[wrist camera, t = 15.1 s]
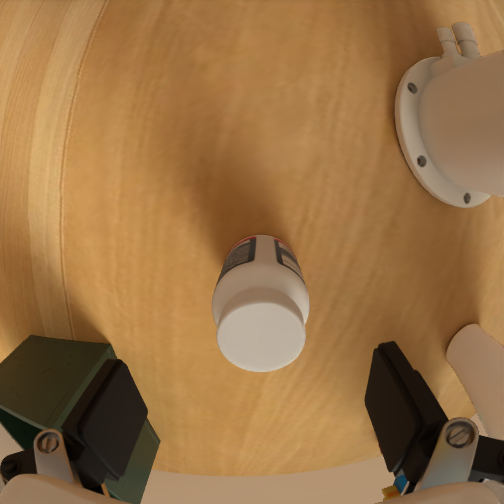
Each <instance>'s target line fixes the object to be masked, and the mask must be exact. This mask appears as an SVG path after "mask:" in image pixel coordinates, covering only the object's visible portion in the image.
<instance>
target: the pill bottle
mask: <svg viewBox="0 0 504 504" xmlns="http://www.w3.org/2000/svg"><path fill="white" fill-rule="evenodd" d="M309 310H310V301H309V295H308V291H307V288H306V285H305V282H304V279H303V276H302V273H301V270H300V267H299V265H298V262H297V259H296V257H295V255H294V253H293V251H292V250H291V248H290V247H289V246H288V245H287V244H286V243H284V242H283V241H281V240H280V239H278V238H275V237H273V236H269V235H253V236H249V237H246V238H244V239H242V240H240V241H239V242H238V243H236V244H235V245H234V246H233V247H232V249H231V250H230V251H229V253H228V255H227V257H226V259H225V263H224V265H223V268H222V271H221V274H220V276H219V279H218V282H217V284H216V287H215V290H214V294H213V298H212V313H213V318H214V321H215V323H216V325H217V334H216V335H217V343H218V346H219V349H220V350H221V352H222V354H223V355H224V356H225V357H226V358H227V360H229V361H230V362H231V363H233V364H234V365H236V366H238V367H240V368H242V369H245V370H249V371H254V372H268V371H274V370H277V369H280V368H282V367H285V366H286V365H288V364H290V363H291V362H292V361H293V360H295V359H296V358H297V357H298V355H299V354H300V353H301V351H302V349H303V346H304V344H305V337H306V333H305V324H306V321H307V319H308V315H309Z"/></svg>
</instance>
